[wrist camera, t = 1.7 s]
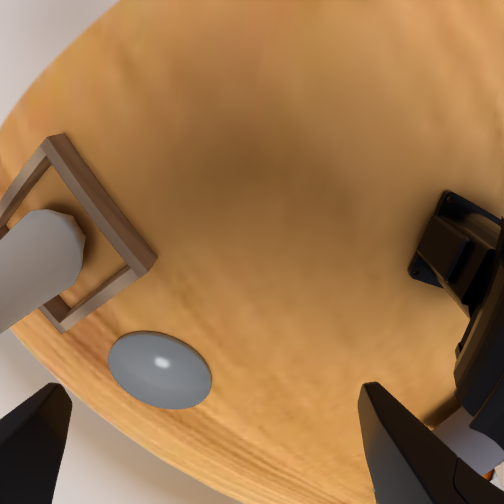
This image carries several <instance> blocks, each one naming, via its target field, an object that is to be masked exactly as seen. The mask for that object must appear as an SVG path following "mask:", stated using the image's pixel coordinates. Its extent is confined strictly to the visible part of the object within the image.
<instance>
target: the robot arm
mask: <svg viewBox="0 0 504 504" xmlns="http://www.w3.org/2000/svg"><path fill="white" fill-rule="evenodd" d="M449 196H450V200H449V201H447V199H448V197H449ZM497 224H498V225H497ZM415 269H417V271H416V272H415V273H413V272H414V270H415ZM408 273H409V275H410V276H411V277H412V278H413V279H416V280H419V281H422V282H425V283H428V284H431V285H434V286H437V287H441V288H444V289H445V290H446V291H447V292H448V293H449V295H450V296H451V297H452V298H453V299H454V301H455V302H456V303H457V304H458V306H459V307H460V308H461V309H462V310H463V312H464V313H465V314H466V315H467V317H468V318H469V319H470V322H469V324H468V326H467V329H466V331H465V333H464V335H463V338H462V340H461V342H459V343H458V345H457V347H456V349H455V353H456V359H457V361H456V364H455V369H454V378H455V384H456V387H457V388H456V390H455V395H456V397H457V399H458V401H459V402H460V404H461V405H462V407H463V408H464V409H465V410H466V411H467V412H468V414H470V415H471V416H472V417H473V419H472V421H471V422H470V423H469V428H470V429H473V430H475V431H477V432H480V433H482V434H485V435H486V436H487V437H489V438H490V439H492V440H493V441H495V442H496V443H497V444H498V445H499V446H500V447H501V448H502V450H503V451H504V217H503V216H502V219H501V220H500V219H499V218H497V217H495V216H494V215H492V214H491V213H489V212H487V211H486V210H484V209H482V208H480V207H479V206H477V205H475V204H473V203H472V202H470V201H468V200H466V199H465V198H463V197H461V196H459V195H457V194H455V193H454V192H452V191H449V190H447V191H445V192H444V193H443V194H442V196H441V199H440V201H439V204H438V206H437V208H436V211H435V213H434V215H433V217H432V218H431V220H430V223H429V225H428V227H427V229H426V231H425V234H424V236H423V238H422V240H421V242H420V244H419V246H418V248H417V252H416V254H415V256H414V258H413V260H412V262H411V264H410V266H409V268H408ZM71 411H72V401H71V399H70V397H69V396H68V394H67V392H66V391H65V389H64V387H63V386H62V385H61V384H59V383H48V384H47V385H46V386H44V387H43V388H42V389H40V390H39V391H38V392H36V393H35V394H34V395H33V396H31V397H30V398H28V399H27V400H25V401H24V402H23V403H22V404H20V405H19V406H17V407H16V408H15V409H14V410H12V411H11V412H10V413H8V414H7V415H6V416H4V417H3V418H2V419H0V504H52V499H53V495H54V490H55V486H56V481H57V477H58V473H59V469H60V465H61V461H62V457H63V453H64V449H65V444H66V439H67V433H68V427H69V422H70V417H71ZM358 413H359V419H360V425H361V431H362V438H363V445H364V451H365V456H366V460H367V464H368V467H369V471H370V475H371V479H372V482H373V486H374V490H375V494H376V497H377V501H378V504H504V491H502V490H501V489H499V488H498V487H496V486H495V485H493V484H492V483H490V482H489V481H488V480H486V479H485V478H484V477H482V476H481V475H480V474H478V473H477V472H476V471H475V470H474V469H472V468H471V467H470V466H469V465H468V464H467V463H465V462H464V461H463V460H462V459H461V458H460V457H457V454H455V453H454V452H453V451H452V450H451V449H450V448H449V447H448V446H447V445H446V444H444V443H443V442H442V441H441V440H440V439H439V438H438V437H437V436H436V435H435V434H434V433H432V432H431V431H430V430H429V429H428V428H427V427H426V426H425V425H424V424H423V423H422V422H420V421H419V420H418V419H417V418H416V417H415V416H414V415H413V414H412V413H411V412H410V411H409V410H407V409H406V408H405V407H404V406H403V405H402V404H401V403H400V402H399V401H398V400H397V399H396V398H394V397H393V396H392V395H391V394H390V393H389V392H388V391H387V390H386V389H385V388H384V387H383V386H381V385H380V384H379V383H378V382H369V383H364V384H363V385H362V387H361V391H360V395H359V399H358Z"/></svg>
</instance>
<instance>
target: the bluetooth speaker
mask: <svg viewBox="0 0 504 504" xmlns="http://www.w3.org/2000/svg"><path fill="white" fill-rule="evenodd" d="M472 419H473V417H472V416H471V415H470V414H468V412H467V411H466V410H465V409H464V408H463V407H462V406H461V407H460V408H459V409H458V410H457V411H456V412H454V413H453V414H452V415H451V416H449V417H448V418H447V419H446V420H444V421H443V422H442V423H441V424H440V425H438V426H437V427H436V428H435V429H434V430H432V431H431V432H432V433H434V434H435V435H436V436H437V437H438V438H439V439H440V440H441V441H442V442H443V443H444V444H446V445H447V446H448V447H449V448H450V449H451V450H452V451H453V452H454V453H455V454H457V457H460V458H461V459H462V460H463V461H464V462H465V463H467V464H468V465H469V466H470V467H471V468H472V469H474V470H475V471H476V472H477V473H478V474H480V475H481V476H482V475H484V474H486V473H487V472H489V471H490V470H492V469H493V468H495V467H497V466H498V465H500V464H501V463H502V462H504V451H503V450H502V448H501V447H500V446H499V445H498V444H497V443H496V442H495V441H493V440H492V439H490V438H489V437H487V436H486V435H485V434H482V433H480V432H477V431H475V430H473V429H470V428H469V423H470V422H471V421H472Z"/></svg>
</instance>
